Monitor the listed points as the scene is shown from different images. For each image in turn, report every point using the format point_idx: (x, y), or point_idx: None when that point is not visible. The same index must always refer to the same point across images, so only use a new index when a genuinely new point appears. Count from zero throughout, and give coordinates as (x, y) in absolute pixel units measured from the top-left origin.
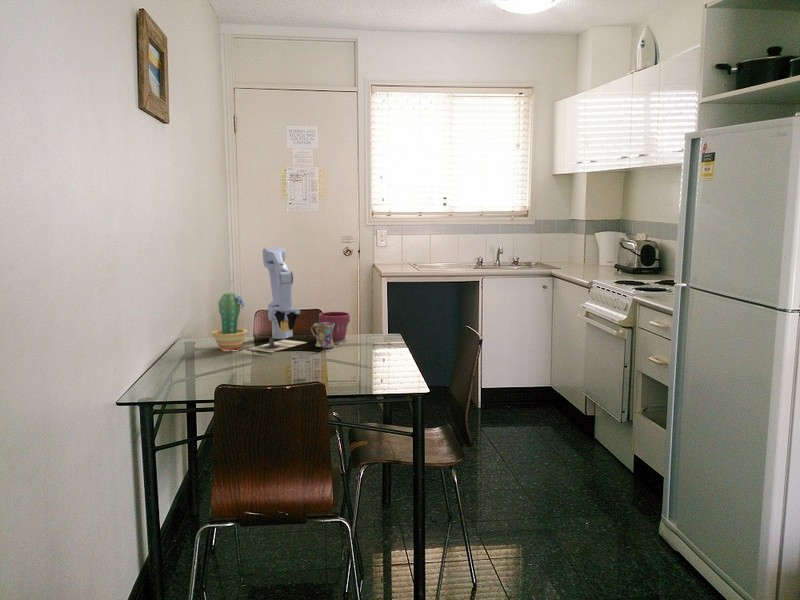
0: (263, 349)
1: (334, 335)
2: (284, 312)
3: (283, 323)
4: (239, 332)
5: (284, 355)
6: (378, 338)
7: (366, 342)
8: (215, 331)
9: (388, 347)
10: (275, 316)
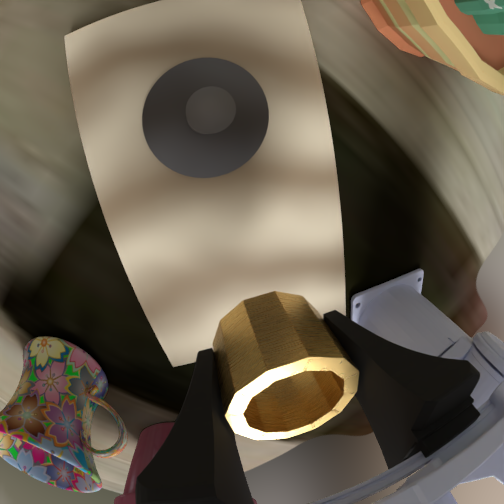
0: (183, 29)
1: (136, 453)
2: (355, 486)
3: (269, 355)
4: (468, 35)
5: (10, 103)
6: None
7: (95, 459)
8: None
9: None
10: (441, 360)
